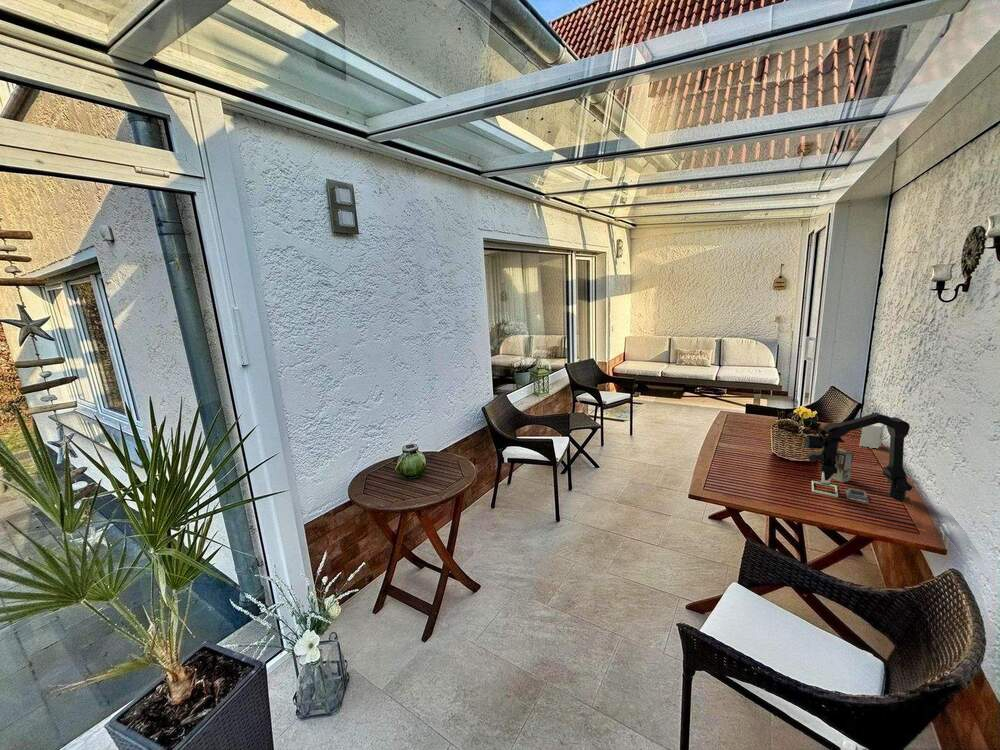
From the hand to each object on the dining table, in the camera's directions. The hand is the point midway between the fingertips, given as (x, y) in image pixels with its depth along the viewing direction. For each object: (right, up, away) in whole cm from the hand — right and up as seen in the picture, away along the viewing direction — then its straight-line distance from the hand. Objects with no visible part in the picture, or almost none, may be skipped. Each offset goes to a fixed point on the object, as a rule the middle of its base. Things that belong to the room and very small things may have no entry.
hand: (826, 478), depth 206 cm
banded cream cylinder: (0, -3, +1) cm, 3 cm away
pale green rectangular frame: (0, -7, +1) cm, 7 cm away
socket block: (+10, -8, -6) cm, 14 cm away
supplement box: (+70, +7, +53) cm, 88 cm away
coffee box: (+16, -4, +13) cm, 21 cm away
